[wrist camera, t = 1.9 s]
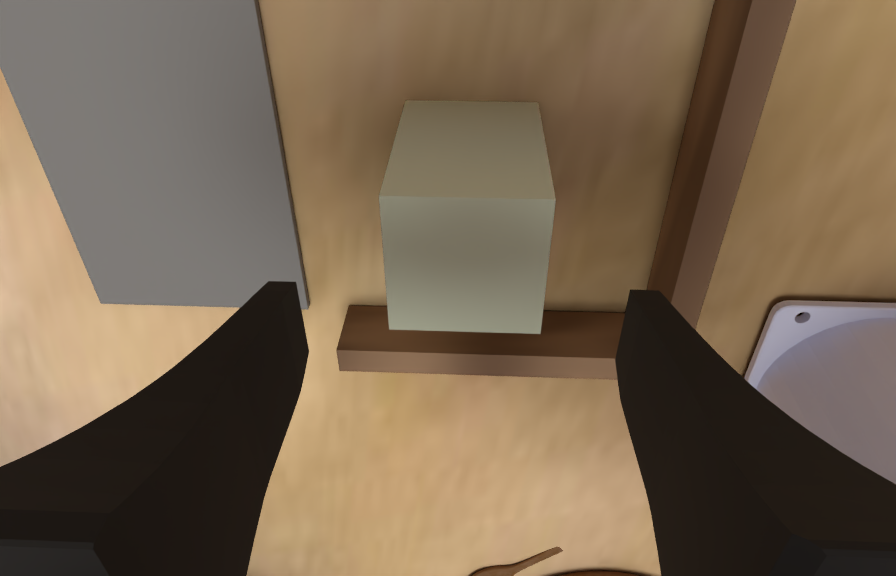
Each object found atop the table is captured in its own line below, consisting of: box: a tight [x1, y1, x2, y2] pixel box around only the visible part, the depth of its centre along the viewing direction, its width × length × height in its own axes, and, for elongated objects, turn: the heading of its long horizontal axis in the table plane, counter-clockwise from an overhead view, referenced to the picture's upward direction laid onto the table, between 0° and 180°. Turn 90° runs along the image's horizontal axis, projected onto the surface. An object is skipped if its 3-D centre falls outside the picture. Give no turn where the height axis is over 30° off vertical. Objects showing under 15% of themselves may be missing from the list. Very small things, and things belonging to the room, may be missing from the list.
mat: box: [0, 0, 310, 309], centre depth 20 cm, size 8×12×1 cm, turn 0°
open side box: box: [337, 0, 796, 380], centre depth 19 cm, size 12×14×2 cm
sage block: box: [379, 100, 556, 334], centre depth 18 cm, size 4×4×6 cm
